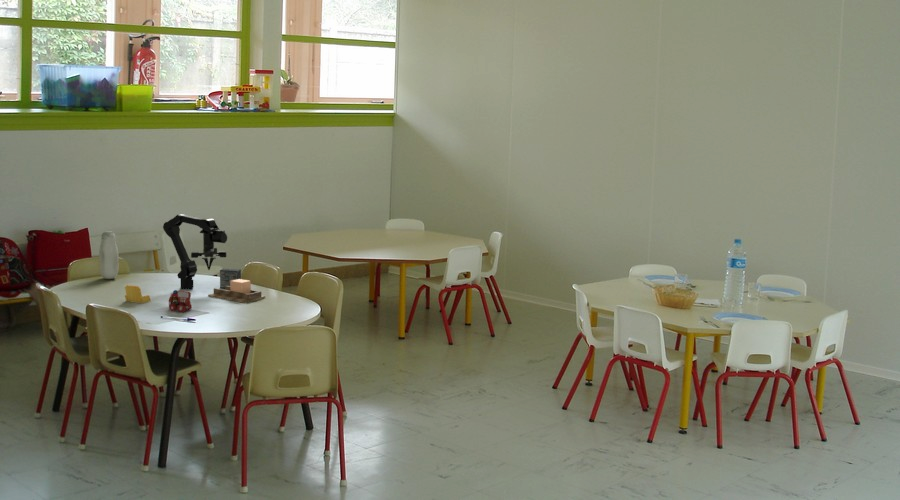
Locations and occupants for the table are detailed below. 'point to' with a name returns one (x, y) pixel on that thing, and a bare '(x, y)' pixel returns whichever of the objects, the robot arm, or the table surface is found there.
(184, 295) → the toy fire truck
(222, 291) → the tray
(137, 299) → the yellow l-shaped block
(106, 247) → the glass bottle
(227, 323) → the table surface
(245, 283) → the slider block
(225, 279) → the small box
